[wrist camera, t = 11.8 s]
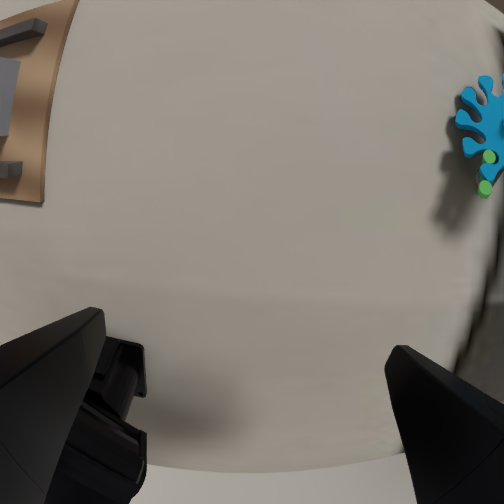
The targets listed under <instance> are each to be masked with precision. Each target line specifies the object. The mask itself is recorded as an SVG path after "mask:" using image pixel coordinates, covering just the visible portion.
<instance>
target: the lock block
mask: <svg viewBox="0 0 504 504" xmlns="http://www.w3.org/2000/svg"><path fill="white" fill-rule="evenodd" d="M20 64H21V61H17V60H13V59H8V58H4V57H0V136H7V135H9V127H10V119H11V111H12V105H13V99H14V93H15V88H16V82H17V78H18V73H19V69H20Z"/></svg>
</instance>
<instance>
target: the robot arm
mask: <svg viewBox="0 0 504 504" xmlns="http://www.w3.org/2000/svg"><path fill="white" fill-rule="evenodd" d="M137 349H139V350H137ZM384 370H385V376H386V380H387V385H388V390H389V395H390V400H391V404H392V409H393V412H394V416H395V419H396V423H397V426H398V429H399V433H400V436H401V440H402V444H403V447H404V451H405V455H406V459H407V462H408V466H409V470H410V474H411V479H412V482H413V487H414V491H415V495H416V501H417V504H504V404H502V403H500V402H499V401H497V400H495V399H494V398H492V397H490V396H489V395H487V394H485V393H483V392H482V391H481V390H479V389H477V388H476V387H474V386H472V385H471V384H469V383H468V382H466V381H464V380H463V379H461V378H459V377H458V376H456V375H455V374H453V373H451V372H450V371H448V370H446V369H445V368H443V367H442V366H440V365H438V364H437V363H435V362H433V361H432V360H430V359H429V358H427V357H425V356H424V355H422V354H420V353H419V352H417V351H416V350H414V349H412V348H411V347H409V346H407V345H396V346H395V347H394V348H393V350H392V352H391V354H390V356H389V358H388V360H387V362H386V364H385V368H384ZM146 394H147V387H146V374H145V357H144V347H143V346H142V345H141V344H138V343H134V342H129V341H125V340H121V339H116V338H112V337H108V336H106V327H105V317H104V312H103V310H102V309H99V308H95V307H88V308H86V309H84V310H81V311H79V312H76V313H74V314H72V315H69V316H67V317H65V318H62V319H60V320H58V321H55V322H53V323H51V324H49V325H46V326H44V327H42V328H39V329H37V330H35V331H32V332H30V333H28V334H25V335H23V336H21V337H19V338H16V339H14V340H12V341H9V342H7V343H5V344H3V345H1V346H0V504H129V503H130V501H131V499H132V498H133V497H134V496H135V495H136V494H137V493H138V492H139V490H140V488H141V487H142V485H143V482H144V480H145V477H146V471H147V433H145V432H144V431H142V430H138V429H137V428H135V427H133V426H132V425H130V424H128V423H127V422H125V419H126V416H127V413H128V411H129V408H130V405H131V402H132V399H133V396H137V397H142V398H144V397H146Z"/></svg>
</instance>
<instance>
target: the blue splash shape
mask: <svg viewBox="0 0 504 504" xmlns="http://www.w3.org/2000/svg"><path fill="white" fill-rule="evenodd" d="M478 84H479V87H480V89H481V90H482V91H483V92H484V94H485V96H486V98H487V105H485V106H482V105H480V104H479V103H478V102H477V100H476V93H475V91H474V90H473V89H472V88H470V87H469V88H466V89H465V90H463V91H462V92H461V100H462V102H463V103H464V104H466V105H468V106H470V107H471V108H473V109H474V110H475V111H476V112H477V114H478V115H479V117H480V119H481V122H479V123H475V122H473V121H472V120H471V118H470V116H469V115H468V113H467V112H466V111H464V110H459V111H458V112H457V115H456V120H455V122H456V126H457V127H458V128H460V129H468V130H472V131H474V132H476V133H478V134H479V135H480V136H481V137H483V138H484V140H485V143H484V144H478V143H477V142H475V141H474V140H473V139H471V138H469V137H466V138H463V152H464V155H465V157H467V158H472V157H474V156H475V155H477V154H480V153H483V158H482V165H481V167H480V169H479V170H478V171H477V173H476V183H477V185H478V195H479V196H480V197H481V198H482V199H486V198H488V197H489V195H490V193H491V191H492V187H493V186H494V184H495V183H496V181H497V180H498V178H499V177H500V175H501V174H502V172H503V171H504V91H503V93H502V95H501V96H500V97H496V96H494V95H493V94H492V93H491V91H492V89H493V79H492V78H491V77H490V76H479V78H478ZM502 85H503V88H504V74H503V78H502Z"/></svg>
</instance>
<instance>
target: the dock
mask: <svg viewBox="0 0 504 504" xmlns="http://www.w3.org/2000/svg"><path fill="white" fill-rule="evenodd" d="M78 2H79V0H62V1H58V2H54V3H51V4H47V5H44V6H41V7H37V8H34V9H31V10H28V11H25V12H22V13H20V14H17V15H14V16H12V17H9V18H7V19H4V20H2V21H0V57H4V58H8V59H13V60H17V61H21V64H20V69H19V73H18V78H17V82H16V88H15V93H14V99H13V105H12V111H11V119H10V127H9V135H7V136H0V198H6V199H16V200H25V201H33V202H42V201H44V182H45V160H46V147H47V136H48V127H49V119H50V112H51V106H52V99H53V94H54V88H55V83H56V78H57V73H58V69H59V65H60V60H61V56H62V53H63V49H64V45H65V41H66V38H67V35H68V31H69V28H70V25H71V22H72V19H73V16H74V13H75V10H76V7H77V5H78Z"/></svg>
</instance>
